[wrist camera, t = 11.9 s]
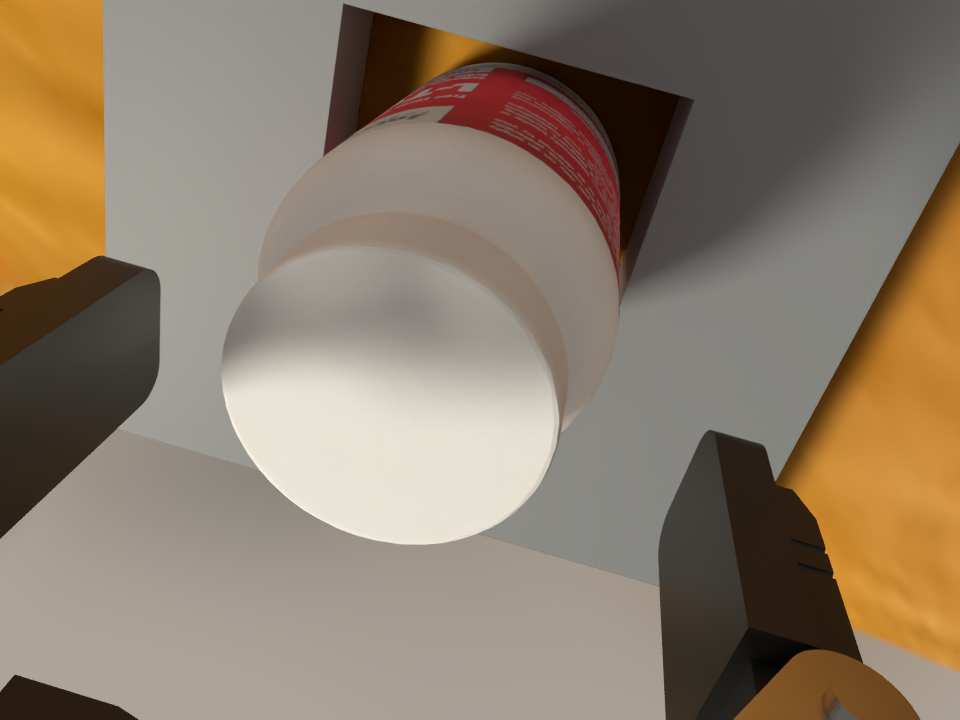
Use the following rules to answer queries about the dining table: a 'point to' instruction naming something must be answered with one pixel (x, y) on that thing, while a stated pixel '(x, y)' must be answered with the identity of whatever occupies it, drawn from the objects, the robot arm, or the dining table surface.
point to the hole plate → (655, 237)
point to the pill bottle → (432, 309)
